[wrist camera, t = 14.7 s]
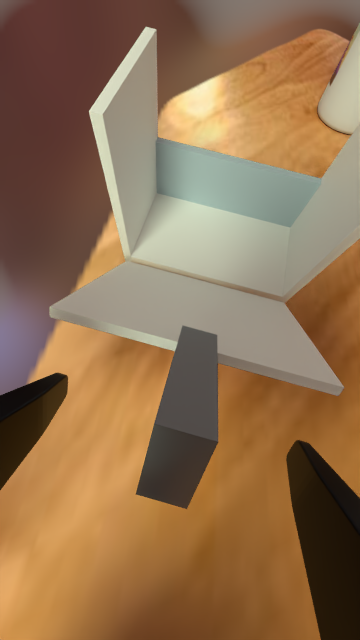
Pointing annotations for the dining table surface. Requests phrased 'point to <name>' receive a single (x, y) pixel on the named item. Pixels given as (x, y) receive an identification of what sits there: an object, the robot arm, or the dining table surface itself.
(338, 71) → the milk bottle
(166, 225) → the carton
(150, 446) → the carton flap
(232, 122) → the dining table surface
